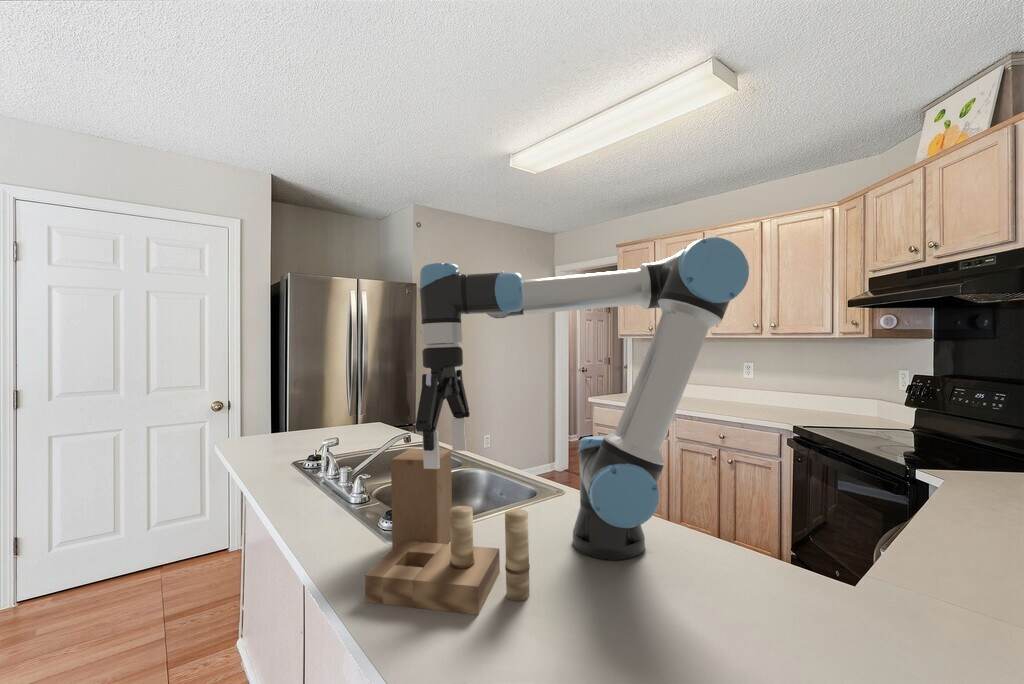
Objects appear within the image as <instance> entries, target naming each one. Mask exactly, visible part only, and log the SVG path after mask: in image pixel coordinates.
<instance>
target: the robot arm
mask: <svg viewBox="0 0 1024 684" xmlns="http://www.w3.org/2000/svg"><path fill="white" fill-rule="evenodd" d="M419 275H420V276H419V278H420V281H419V289H418V290H419V295H420V297H419V299H420V315H421V330H420V331H419V332H420V335H421V341H422V342H421V344H422V345H423V346H425V348H423V349H422V352H421V355H422V367H423V368H425V369H430V373H423V374H422V377H421V389H420V390H421V391H420V397H419V401H418V402H419V403H418V410H417V414H416V421H415V430H416V432H421V433H422V449H423V461H424V469H439V468H440V457H439V449H440V438H439V437H440V436H439V435H440V434H439V430H437V426H438V423H439V419H440V415H441V411H442V408H443V407H442V406H443V403H444V400H446V401H447V404H448V407H449V409H450V412H451V414H452V417H451V419H450V421H451V449H452V451H453V452H456V451H459V452H461V451H462V452H465V451H467V435H466V433H467V431H466V418H470V415H471V414H470V413H471V412H469V411H470V408H469V404H468V399H467V395H466V394H467V393H466V390H465V385H464V380H463V371H462V369H456V368H459V367H462V366H463V363H464V358H463V357H464V355H463V354H464V351H463V348H462V347H461V346H460V345H461V344H462V343H463V326H462V325H463V324H462V315H471V314H473V315H474V314H475V315H476V314H485V315H488V316H489V317H491V318H493V319H505V318H507V317H516V316H522V315H534V314H535V315H536V314H548V313H559V312H569V311H579V310H580V311H583V310H590V309H591V310H593V309H603V308H604V309H606V308H616V307H624V306H626V307H627V306H640V307H642V309H645V310H647V309H660V310H661V314H660V318H659V320H658V324H657V325H656V329H655V331H654V333H653V336H652V338H651V341H650V344H649V346H648V348H647V351H646V353H645V356H644V359H643V361H642V364H641V366H640V369H639V370H638V372H637V373H638V374H637V376H636V378H635V381H634V384H633V386H632V388H631V392H630V394H629V396H628V398H627V402H626V404H625V406H624V408H623V411H622V414H621V417H620V419H619V421H618V424H617V426H616V430H614V431H613V432H611V433H609V434H607V435H600V436H599V435H595V436H594V435H593V436H592V435H591V436H585V437H582V438H581V439H580V440H579V446H578V450H577V451H578V454H579V455H578V456H579V496H580V497H579V498H580V499H579V500H580V501H579V506H580V507H579V509H578V513H577V517H576V519H575V524H574V525H573V529H572V545H573V546H574V548H575V549H576V550H577V551H578V552H580V553H582V554H584V555H586V556H589V557H593V558H596V559H601V560H609V561H611V560H612V561H613V560H615V561H616V560H617V561H618V560H619V561H620V560H621V561H622V560H627V559H632V558H635V557H638V556H639V555H641V554H642V553H643V552H644V551H645V548H646V542H645V541H646V539H645V534H644V531H643V528H642V525H643V524H645V523H646V522H648V521H649V520H651V518H652V517H653V515H654V514H655V512H656V511H657V509H658V506H659V502H660V490H659V486H658V482H659V479H660V477H661V475H662V472H663V469H664V466H665V464H666V462H665V460H664V457H663V455H662V453H661V452H662V451H661V450H662V447H663V445H664V442H665V440H666V436H667V435H668V432H669V430H670V427H671V424H672V422H673V420H674V416H675V414H676V412H677V410H678V407H679V405H680V402H681V400H682V397H683V395H684V392H685V390H686V387H687V385H688V382H689V379H690V377H691V374H692V371H693V370H694V367H695V365H696V362H697V359H698V357H699V354H700V352H701V349H702V347H703V345H704V342H705V339H706V337H707V335H708V333H709V330H710V329H711V328H712V327H714V326H717V325H719V324H722V321H723V319H724V316H725V314H726V311H727V309H728V307H729V304H730V301H732V300H734V299H735V298H737V297H738V296H739V294H741V293H742V292H743V291H744V289H745V287H746V286H747V283H748V281H749V276H750V266H749V262H748V259H747V258H746V255H745V253H744V252H743V250H742V249H741V248H740V247H739V246H738V245H737V244H735V243H734V242H732V241H731V240H729V239H725V238H723V237H717V236H711V237H710V236H708V237H705V238H702V239H698V240H695V241H692V242H691V243H689V244H687V246H685V247H684V249H682V250H680V251H678V252H677V253H675V254H674V255H671V257H667V258H665V259H662V260H659V261H655V262H650V263H641V264H640V265H639V266H638V267H637V268H636V269H626V270H615V271H605V272H595V273H594V272H593V273H585V274H584V273H583V274H572V275H562V276H552V277H540V278H529V279H523V277H522V274H521V273H519V272H512V271H511V272H506V271H501V272H489V273H488V272H486V273H472V274H471V273H469V274H464V273H461V272H460V268H459V265H457V264H455V263H448V262H446V263H443V262H436V263H435V262H433V263H427V264H425V265H424V266H423V267H421V269H420V274H419Z"/></svg>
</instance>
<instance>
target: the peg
mask: <svg viewBox="0 0 1024 684" xmlns="http://www.w3.org/2000/svg"><path fill="white" fill-rule="evenodd" d="M504 533H505V537H504V538H505V539H504V540H505V541H504V542H505V543H504V545H505V565H504V566H505V568H504V569H505V576H506V577H505V587H506V588H505V589H506V591H505V592H506V595H505V596H506V598H508V599H509V600H510V601H513V602H522V601H526V600H527V599H529V597H530V595H531V594H530V592H531V591H530V567H531V566H530V564H531V563H530V551H529V549H530V547H529V546H530V545H529V544H530V540H529V512H528V511H527V510H526V509H522V508H521V509H519V508H514V509H509V510H506V511H505V512H504Z"/></svg>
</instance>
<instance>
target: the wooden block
mask: <svg viewBox="0 0 1024 684" xmlns="http://www.w3.org/2000/svg"><path fill="white" fill-rule="evenodd" d="M439 457H440V468H439V469H424V461H423V448H409V449H408V450H405V451H403V452H402V453H400V454H398V455H396V456H395V457H393V458H391V459H390V471H391V472H390V477H391V478H390V481H391V487H390V488H391V489H390V490H391V535H392V536H391V539H392V540H391V541H392V542H391V545H392V548H391V551H392V550H393V549H394V548H395V547H396V546H397V545H398V544H399V543H400V542H401V541H414V542H426V543H439V544H449V543H451V532H450V509H452V508H453V503H452V502H453V500H452V499H453V497H452V493H453V491H452V488H453V486H452V451H451V449H440V448H439Z"/></svg>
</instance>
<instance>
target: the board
mask: <svg viewBox="0 0 1024 684" xmlns="http://www.w3.org/2000/svg"><path fill="white" fill-rule="evenodd" d="M473 510H474V508H473V507H472V506H468V505H457V506H454V507H453V506H452V509H450V532H451V540H450V544H449V543H448V544H439V543H426V542H414V541H401V542H400V543H399V544H398V545H397V546H396V547H395V548H394V549H393V550H392V549H391V550H390V551H389V552H388V553H387V554H386V555H385V556H384V557H383V558H382V559H380V561H379V562H377V563H376V564H375V565H374V566H373V567H372V568H371V569H370V570H368V572H367V573H366V574H365V575H364V594H365V595H364V596H365V597H364V601H365V603H374V604H381V605H389V606H399V607H406V608H407V607H408V608H416V609H426V610H433V611H442V612H452V613H459V614H468V615H477V616H479V614H480V612H481V610H482V608H483V607H484V605H485V602H486V601H487V599H488V597H489V595H490V593H491V591H492V588H493V586H494V584H495V583H496V581H497V579H498V576H499V575H500V573H501V572H500V571H501V565H500V563H501V562H500V556H501V555H500V548H499V547H498V548H497V547H487V546H486V547H485V546H476V545H475V546H474V516H473V515H474V511H473Z"/></svg>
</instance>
